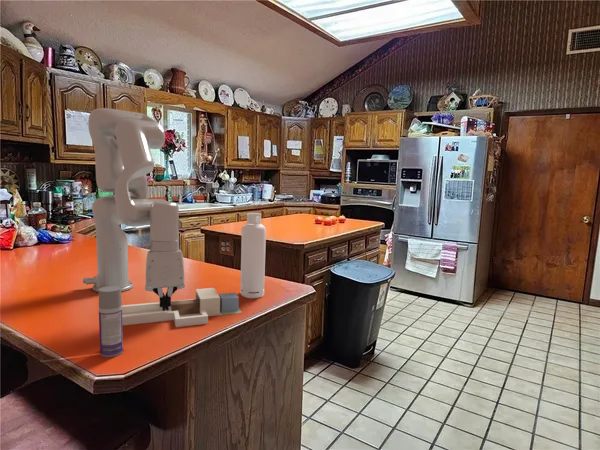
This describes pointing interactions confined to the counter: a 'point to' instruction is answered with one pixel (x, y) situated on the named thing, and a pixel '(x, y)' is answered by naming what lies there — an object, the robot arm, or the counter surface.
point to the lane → (156, 314)
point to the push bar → (188, 306)
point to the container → (110, 321)
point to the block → (229, 302)
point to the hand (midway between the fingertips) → (165, 309)
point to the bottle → (253, 257)
